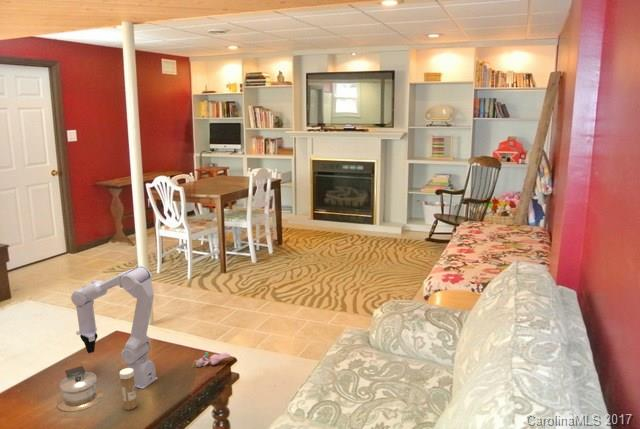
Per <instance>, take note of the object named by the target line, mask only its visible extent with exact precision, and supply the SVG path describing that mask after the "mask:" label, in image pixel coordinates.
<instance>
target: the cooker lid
mask: <svg viewBox="0 0 640 429" xmlns="http://www.w3.org/2000/svg"><path fill="white" fill-rule="evenodd" d="M64 373H65V378H63V379H62V380H61V381H60V382H59V388H60V391H61V392H62V393H63V392H64V393H78V392H82V391H85V390H87V389H89V388H91V387H92V386H94V385H96V384H97V375H96V374H95V373H94V372H92V371H86V370H85V367H84V365H80V366H78V367H74V368H70V369H66V370H64Z"/></svg>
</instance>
